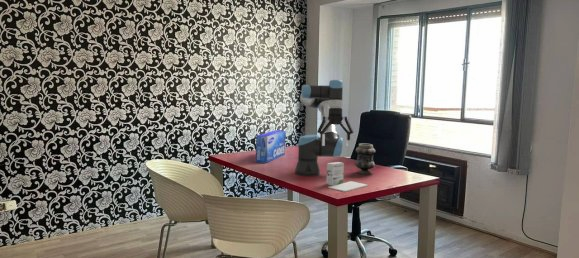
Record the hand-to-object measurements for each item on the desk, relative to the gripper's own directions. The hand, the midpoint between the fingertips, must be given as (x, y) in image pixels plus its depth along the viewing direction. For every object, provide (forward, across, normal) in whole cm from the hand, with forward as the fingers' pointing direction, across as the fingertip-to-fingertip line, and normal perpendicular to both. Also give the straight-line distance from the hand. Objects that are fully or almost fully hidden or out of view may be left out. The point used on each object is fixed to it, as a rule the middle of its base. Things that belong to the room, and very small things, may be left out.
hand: (334, 146), depth 244 cm
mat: (+21, +10, -6) cm, 24 cm away
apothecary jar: (+17, +10, +32) cm, 38 cm away
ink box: (+21, +1, -3) cm, 21 cm away
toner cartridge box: (+12, -62, +50) cm, 80 cm away
